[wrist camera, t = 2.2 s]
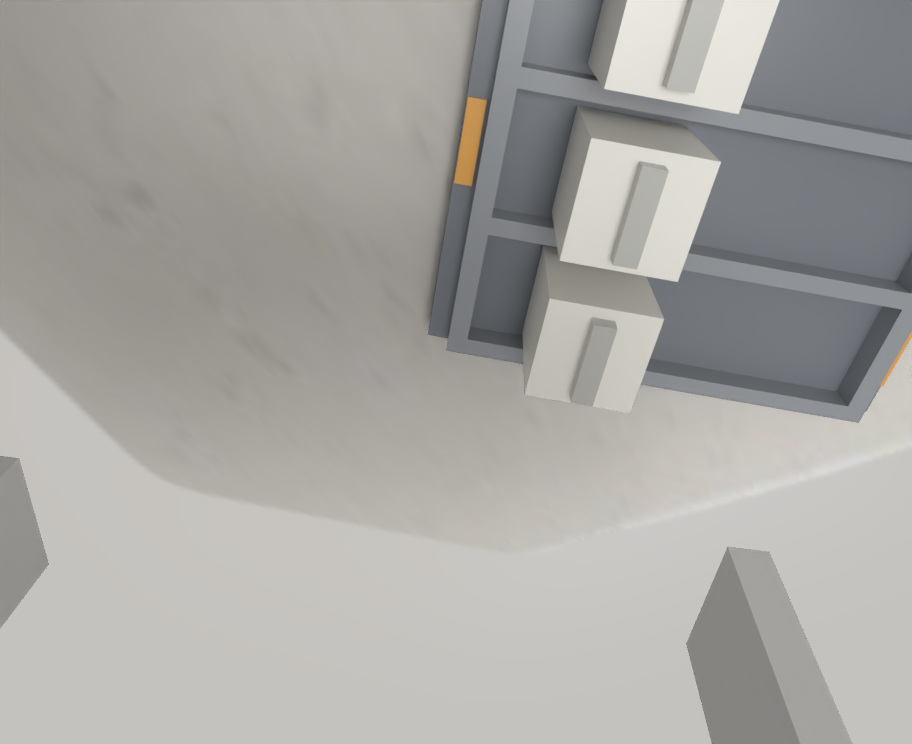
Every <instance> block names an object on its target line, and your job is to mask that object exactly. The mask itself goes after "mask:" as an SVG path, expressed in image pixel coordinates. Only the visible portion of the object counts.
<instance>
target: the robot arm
mask: <svg viewBox="0 0 912 744" xmlns="http://www.w3.org/2000/svg"><path fill="white" fill-rule="evenodd" d="M48 564H49V563H48V560H47V556H46V553H45V549H44V546H43V542H42V538H41V535H40V531H39V528H38V524H37V521H36V517H35V513H34V510H33V506H32V503H31V499H30V496H29V492H28V488H27V485H26V481H25V478H24V474H23V471H22V467H21V464H20V460H19V458H12V457H4V456H0V628H1V627H2V626H3V624H4V623H5V622H6V620H7V619H8V617H9V616H10V615H11V614H12V612H13V611H14V609H15V608H16V607H17V606H18V604H19V603H20V602H21V600H22V599H23V598H24V596H25V595H26V594H27V592H28V591H29V589H30V588H31V587H32V586H33V584H34V583H35V582H36V580H37V579H38V578H39V576H40V575H41V574H42V572H43V571H44V570H45V568H46V567H47V566H48ZM686 644H687V648H688V652H689V656H690V660H691V664H692V668H693V671H694V676H695V679H696V683H697V687H698V691H699V695H700V699H701V703H702V707H703V711H704V714H705V718H706V722H707V726H708V730H709V734H710V738H711V741H712V744H852V742H851V739H850V737H849V735H848V732H847V730H846V728H845V725H844V723H843V721H842V719H841V716H840V714H839V711H838V709H837V707H836V705H835V702H834V700H833V698H832V695H831V693H830V691H829V689H828V686H827V684H826V682H825V679H824V677H823V675H822V672H821V670H820V668H819V665H818V663H817V661H816V659H815V656H814V654H813V652H812V649H811V647H810V645H809V643H808V640H807V638H806V636H805V633H804V631H803V629H802V626H801V624H800V622H799V620H798V617H797V615H796V612H795V610H794V608H793V606H792V603H791V601H790V599H789V596H788V594H787V592H786V589H785V587H784V585H783V582H782V581H781V578H780V576H779V573H778V571H777V569H776V566H775V564H774V562H773V560H772V557H771V555H770V553H769V552H766V551H759V550H751V549H743V548H735V547H727V550H726V552H725V554H724V557H723V559H722V562H721V564H720V566H719V568H718V571H717V573H716V576H715V578H714V580H713V582H712V585H711V587H710V589H709V592H708V594H707V596H706V599H705V601H704V604H703V606H702V608H701V611H700V613H699V615H698V618H697V620H696V622H695V625H694V627H693V629H692V632H691V634H690V637H689V639H688V641H687V643H686Z"/></svg>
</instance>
